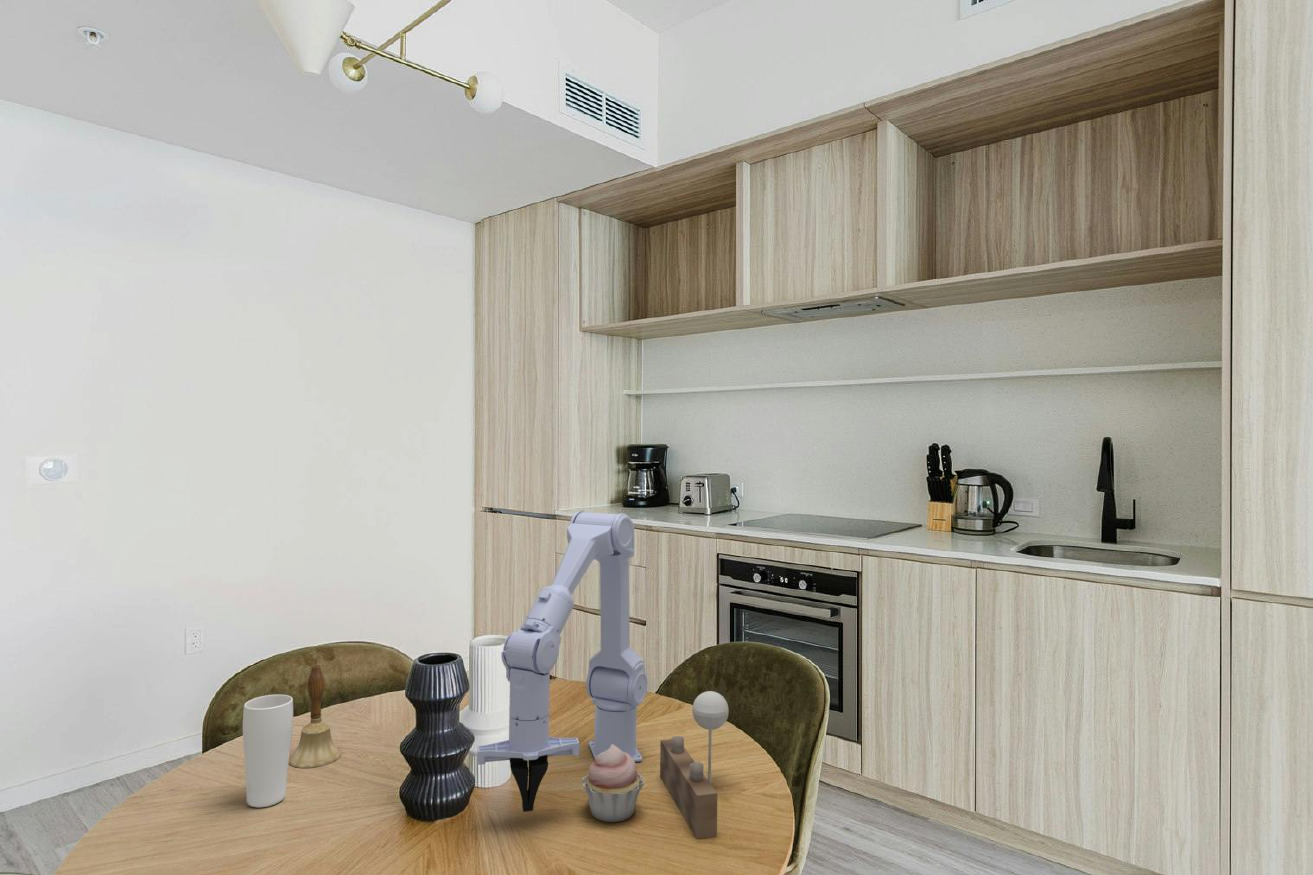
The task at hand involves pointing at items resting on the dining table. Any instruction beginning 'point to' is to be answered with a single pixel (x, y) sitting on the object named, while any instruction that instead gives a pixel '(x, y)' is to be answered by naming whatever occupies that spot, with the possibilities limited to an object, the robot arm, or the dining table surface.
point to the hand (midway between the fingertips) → (527, 808)
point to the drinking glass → (267, 748)
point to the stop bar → (689, 787)
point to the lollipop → (710, 715)
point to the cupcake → (612, 785)
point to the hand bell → (315, 731)
